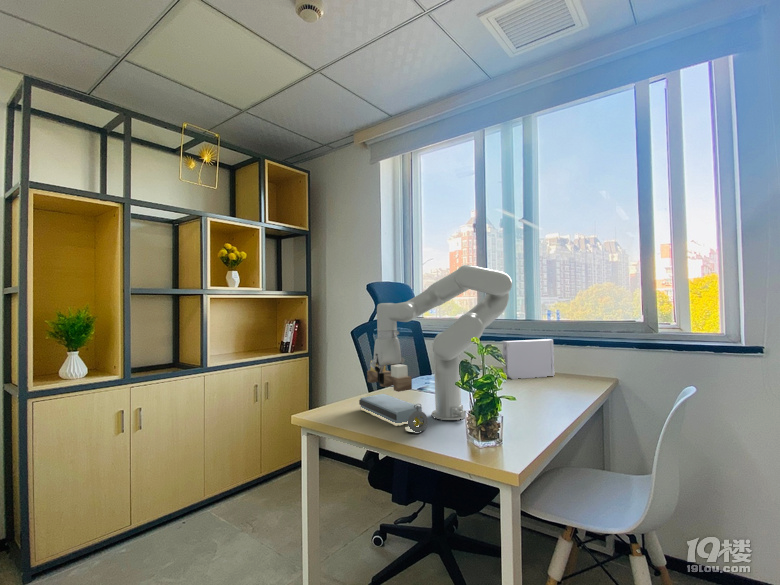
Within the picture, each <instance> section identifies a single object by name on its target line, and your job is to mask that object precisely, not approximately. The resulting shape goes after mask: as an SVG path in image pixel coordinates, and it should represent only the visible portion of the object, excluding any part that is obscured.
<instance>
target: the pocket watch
mask: <svg viewBox="0 0 780 585" xmlns="http://www.w3.org/2000/svg"><path fill="white" fill-rule="evenodd" d="M415 405H418V406H420V407H422V404H421V403H415ZM415 405H414V408H415ZM418 406H417V407H416V409H417V411H415V412H413V413H412V414H411V415H410V417H409V419H408V424H407V426H409V427H410V429H412V430H413V431H415V432H420V431H422V430H424V431H425V429H426V428H427V426H428V421H429V420H428V419H429V418H428V416H427V414H426V413H425V412H424V411H423V410H422V411H418V409H419V408H420V407H418ZM414 419H415V421H416V422H413V421H414ZM418 425H419V427H416V426H418ZM420 433H421V432H420Z"/></svg>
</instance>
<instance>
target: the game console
mask: <svg viewBox="0 0 780 585" xmlns="http://www.w3.org/2000/svg"><path fill="white" fill-rule="evenodd" d="M554 348H555V347H554V339H552V338H547V339H546V338H544V339H543V338H542V339H525V340H524V339H523V340H502V358H503V357H504V359H505V362H506V366H504V365H503V364H502V365H503V373H504V372H505V373H506V375H507V376H506V375H505V376H506V377H507V378H509V379H511V380H518V378H521V379H533V378H534V379H536V378H535V377H537V378H548V377H547V376H553V377H555V376H554V375H555V353H554V350H555V349H554Z"/></svg>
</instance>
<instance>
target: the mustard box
mask: <svg viewBox="0 0 780 585" xmlns="http://www.w3.org/2000/svg"><path fill="white" fill-rule="evenodd" d="M371 362H372V360H370V363H371ZM370 363H369V364H370ZM375 365H376V366H378V365H377V364H375ZM386 366H387V365H385V366H384V369H383V371H386V368H387V367H386ZM370 370H371V371H373V372H376V371H375V370H374V369H373V368H372V367H371V366H370Z"/></svg>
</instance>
